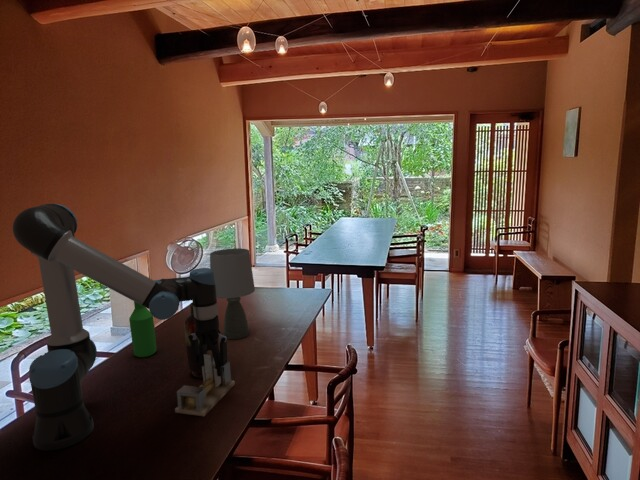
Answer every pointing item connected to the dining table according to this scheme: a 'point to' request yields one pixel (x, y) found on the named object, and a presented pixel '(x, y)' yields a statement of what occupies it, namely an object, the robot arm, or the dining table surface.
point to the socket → (226, 374)
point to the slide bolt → (210, 379)
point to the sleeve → (193, 392)
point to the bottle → (142, 331)
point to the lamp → (233, 287)
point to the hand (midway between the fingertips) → (212, 383)
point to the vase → (190, 329)
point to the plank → (209, 400)
